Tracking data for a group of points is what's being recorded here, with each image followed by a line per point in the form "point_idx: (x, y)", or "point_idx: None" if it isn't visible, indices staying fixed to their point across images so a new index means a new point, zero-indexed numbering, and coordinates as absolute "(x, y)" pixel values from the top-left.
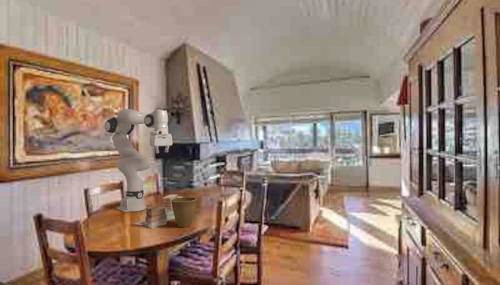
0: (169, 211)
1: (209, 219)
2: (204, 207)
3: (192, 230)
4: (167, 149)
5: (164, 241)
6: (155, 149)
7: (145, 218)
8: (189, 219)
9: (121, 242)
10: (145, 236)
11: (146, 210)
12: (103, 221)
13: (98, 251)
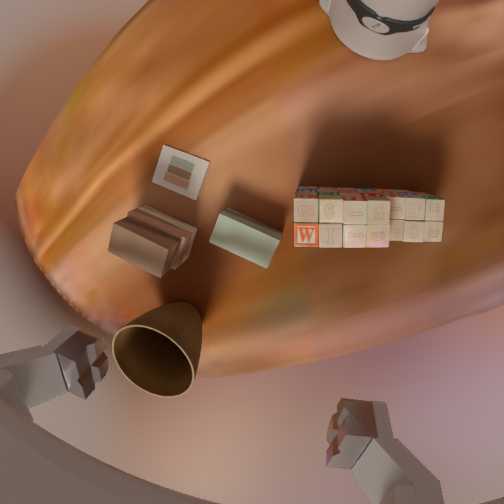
0: (245, 247)
1: (266, 364)
2: (437, 303)
3: None
4: (355, 473)
5: (80, 307)
6: (22, 356)
7: (131, 211)
8: (165, 346)
9: (48, 222)
10: (85, 252)
11: (118, 221)
12: (174, 24)
13: (16, 211)
